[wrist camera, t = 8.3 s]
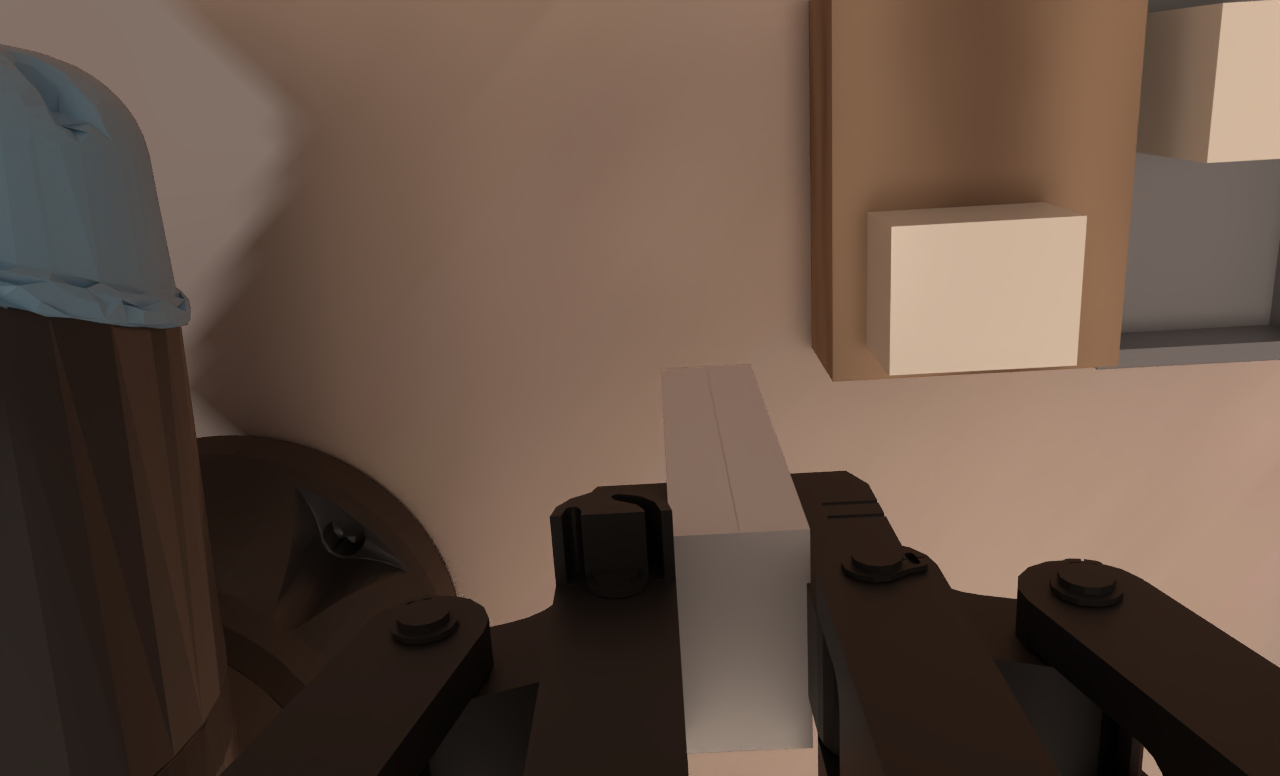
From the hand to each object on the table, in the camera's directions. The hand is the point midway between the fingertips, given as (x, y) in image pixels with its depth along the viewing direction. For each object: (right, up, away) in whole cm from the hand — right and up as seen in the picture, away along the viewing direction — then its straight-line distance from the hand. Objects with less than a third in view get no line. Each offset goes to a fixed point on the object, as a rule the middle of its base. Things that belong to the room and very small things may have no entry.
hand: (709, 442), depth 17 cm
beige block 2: (+14, +10, +12) cm, 20 cm away
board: (+9, +8, +15) cm, 19 cm away
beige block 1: (+8, +4, +12) cm, 15 cm away
